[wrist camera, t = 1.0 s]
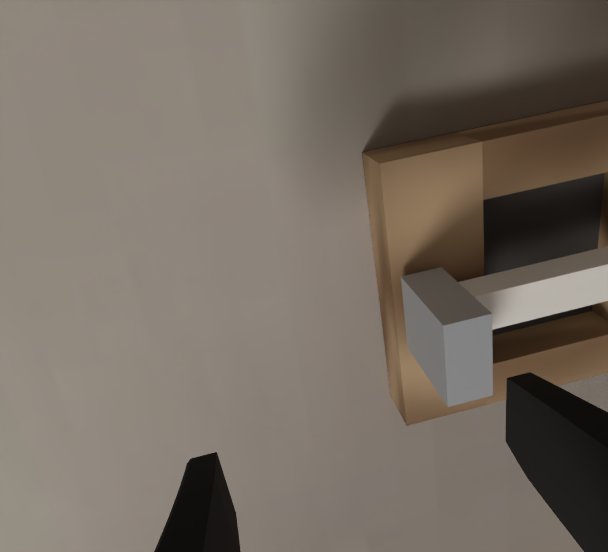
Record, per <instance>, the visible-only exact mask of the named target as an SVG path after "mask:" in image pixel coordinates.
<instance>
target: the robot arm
mask: <svg viewBox="0 0 608 552" xmlns="http://www.w3.org/2000/svg"><path fill="white" fill-rule="evenodd" d="M506 442H507V444H508V446H509V448H510V449H511V451H512V453H513V454H514V456H515V458H516V460H517V461H518V463H519V465H520V466H521V468H522V470H523V471H524V473H525V474H526V476H527V478H528V479H529V481H530V482H531V483H532V485H533V486H534V487H535V489H536V490H537V491H538V492H539V494H540V495H541V496H542V498H543V499H544V500H545V502H546V503H547V504H548V506H549V507H550V508H551V509H552V511H553V512H554V513H555V515H556V516H557V517H558V518H559V520H560V521H561V522H562V524H563V525H564V526H565V527H566V529H567V530H568V531H569V533H570V534H571V535H572V536H573V538H574V539H575V540H576V542H577V543H578V544H579V545H580V547H581V548H582V549H583V551H584V552H608V412H606V411H604V410H602V409H600V408H598V407H596V406H594V405H592V404H590V403H588V402H586V401H585V400H583V399H581V398H579V397H577V396H575V395H573V394H571V393H569V392H568V391H566V390H564V389H562V388H560V387H558V386H556V385H554V384H552V383H550V382H549V381H547V380H545V379H543V378H541V377H539V376H537V375H535V374H533V373H531V372H528V373H524V374H520V375H517V376H513V377H509V378H507V388H506ZM154 552H240V544H239V535H238V527H237V518H236V512H235V509H234V506H233V503H232V499H231V496H230V493H229V490H228V487H227V483H226V480H225V477H224V474H223V471H222V468H221V464H220V461H219V458H218V455H217V452H215V453H211V454H207V455H203V456H200V457H196V458H192V459H190V460H189V462H188V463H187V466H186V469H185V473H184V476H183V479H182V482H181V485H180V488H179V491H178V494H177V496H176V499H175V502H174V505H173V507H172V510H171V513H170V515H169V518H168V520H167V522H166V525H165V527H164V530H163V532H162V535H161V537H160V540H159V542H158V544H157V547H156V549H155V551H154Z"/></svg>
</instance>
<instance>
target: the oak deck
mask: <svg viewBox="0 0 608 552" xmlns="http://www.w3.org/2000/svg"><path fill="white" fill-rule="evenodd" d="M362 156H363V165H364V173H365V182H366V190H367V199H368V207H369V216H370V224H371V233H372V241H373V250H374V258H375V267H376V275H377V284H378V292H379V301H380V309H381V318H382V326H383V335H384V343H385V351H386V360H387V368H388V377H389V385H390V394H391V397H392V399H393V401H394V403H395V405H396V407H397V409H398V410H399V412H400V414H401V416H402V418H403V420H404V422H405V423H406V425H407V426H408V425H411V424H415V423H419V422H423V421H427V420H430V419H434V418H438V417H442V416H445V415H449V414H453V413H457V412H461V411H464V410H468V409H472V408H476V407H480V406H483V405H487V404H491V403H495V402H498V401H502V400H506V388H507V378H509V377H513V376H517V375H520V374H524V373H528V372H531V373H533V374H535V375H537V376H539V377H541V378H543V379H545V380H547V381H549V382H550V383H552V384H554V385H556V386H559V385H563V384H567V383H570V382H574V381H578V380H582V379H586V378H589V377H593V376H597V375H601V374H604V373H608V301H605V302H601V303H597V304H593V305H589V306H585V307H581V308H577V309H573V310H569V311H565V312H561V313H557V314H553V315H549V316H545V317H541V318H537V319H533V320H529V321H525V322H521V323H517V324H513V325H509V326H505V327H501V328H497V329H493V330H492V347H493V395H492V396H488V397H484V398H481V399H477V400H473V401H469V402H465V403H462V404H458V405H454V406H450V407H447V405H446V404H445V402H444V401H443V399H442V398H441V396H440V395H439V393H438V392H437V390H436V389H435V387H434V386H433V385H432V383H431V382H430V380H429V379H428V377H427V376H426V374H425V373H424V371H423V370H422V368H421V367H420V365H419V364H418V363H417V361H416V360H415V358H414V357H413V355H412V354H411V352H410V351H409V349H408V348H407V337H406V327H405V316H404V306H403V295H402V285H401V277H402V276H406V275H410V274H414V273H418V272H423V271H427V270H431V269H435V268H440V267H442V268H443V269H444V270H445V271H446V272H447V273H448V274H450V275H451V276H452V277H453V278H454V279H455V280H456V281H457V282H461V281H465V280H469V279H473V278H477V277H482V276H486V275H490V274H494V273H498V272H502V271H507V270H511V269H515V268H519V267H523V266H527V265H532V264H536V263H540V262H544V261H548V260H552V259H557V258H561V257H565V256H569V255H573V254H578V253H582V252H586V251H590V250H594V249H598V248H603V247H607V246H608V100H607V101H602V102H598V103H593V104H588V105H583V106H579V107H574V108H569V109H564V110H560V111H555V112H550V113H546V114H541V115H536V116H531V117H527V118H522V119H517V120H512V121H508V122H503V123H498V124H494V125H489V126H484V127H479V128H475V129H470V130H465V131H460V132H456V133H451V134H446V135H441V136H437V137H432V138H427V139H423V140H418V141H413V142H408V143H404V144H399V145H394V146H389V147H385V148H380V149H375V150H370V151H366V152H362Z"/></svg>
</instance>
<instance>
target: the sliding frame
mask: <svg viewBox="0 0 608 552" xmlns="http://www.w3.org/2000/svg"><path fill="white" fill-rule="evenodd" d="M401 285H402V295H403V306H404V316H405V327H406V337H407V348H408V349H409V351H410V352H411V354H412V355H413V357H414V358H415V360H416V361H417V363H418V364H419V365H420V367H421V368H422V370H423V371H424V373H425V374H426V376H427V377H428V379H429V380H430V382H431V383H432V385H433V386H434V387H435V389H436V390H437V392H438V393H439V395H440V396H441V398H442V399H443V401H444V402H445V404H446V405H447V407H450V406H454V405H458V404H462V403H465V402H469V401H473V400H477V399H481V398H484V397H488V396H492V395H493V347H492V330H493V329H497V328H501V327H505V326H509V325H513V324H517V323H521V322H525V321H529V320H533V319H537V318H541V317H545V316H549V315H553V314H557V313H561V312H565V311H569V310H573V309H577V308H581V307H585V306H589V305H593V304H597V303H601V302H605V301H608V246H607V247H603V248H598V249H594V250H590V251H586V252H582V253H578V254H573V255H569V256H565V257H561V258H557V259H552V260H548V261H544V262H540V263H536V264H532V265H527V266H523V267H519V268H515V269H511V270H507V271H502V272H498V273H494V274H490V275H486V276H482V277H477V278H473V279H469V280H465V281H461V282H457V281H456V280H455V279H454V278H453V277H452V276H451V275H450V274H448V273H447V272H446V271H445V270H444V269H443V268H442V267H440V268H435V269H431V270H427V271H423V272H418V273H414V274H410V275H406V276H402V277H401Z"/></svg>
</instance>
